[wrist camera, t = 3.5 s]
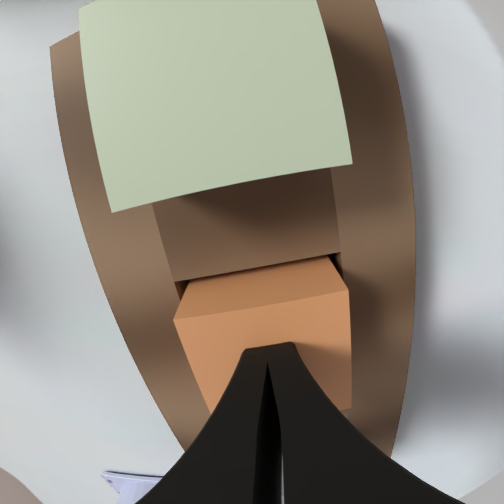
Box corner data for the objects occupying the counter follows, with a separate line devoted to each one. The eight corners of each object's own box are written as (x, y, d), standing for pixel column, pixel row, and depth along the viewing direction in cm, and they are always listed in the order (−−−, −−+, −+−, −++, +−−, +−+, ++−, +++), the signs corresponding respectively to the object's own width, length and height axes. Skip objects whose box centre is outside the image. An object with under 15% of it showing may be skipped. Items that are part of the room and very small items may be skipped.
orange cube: (328, 339, 13) (351, 408, 9) (225, 356, 13) (217, 428, 9) (317, 240, 11) (348, 289, 7) (197, 262, 11) (173, 319, 8)
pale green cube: (311, 155, 9) (352, 163, 5) (166, 184, 9) (111, 212, 5) (282, 20, 7) (299, -48, 4) (140, 52, 8) (78, 9, 4)
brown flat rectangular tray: (377, 436, 15) (388, 466, 13) (216, 461, 16) (213, 493, 14) (344, 3, 8) (364, -26, 6) (84, 60, 9) (49, 46, 7)
